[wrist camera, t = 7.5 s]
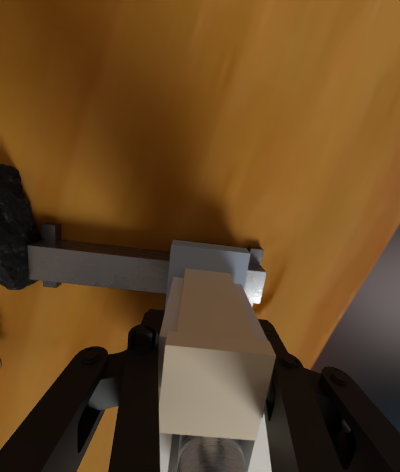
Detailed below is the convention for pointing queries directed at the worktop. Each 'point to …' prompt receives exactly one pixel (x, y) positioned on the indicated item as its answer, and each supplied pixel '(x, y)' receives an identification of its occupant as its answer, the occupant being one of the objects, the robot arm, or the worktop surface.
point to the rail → (115, 265)
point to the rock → (14, 231)
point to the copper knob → (210, 454)
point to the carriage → (212, 348)
